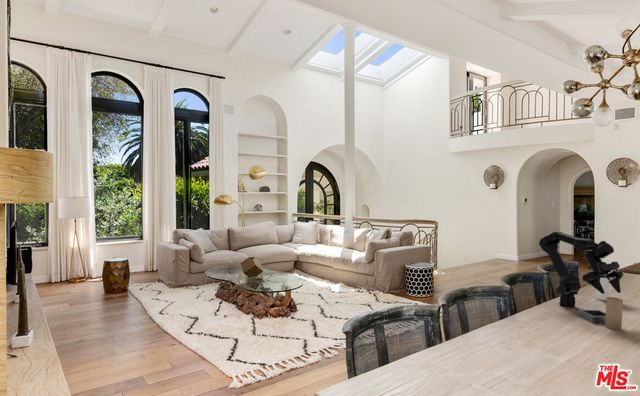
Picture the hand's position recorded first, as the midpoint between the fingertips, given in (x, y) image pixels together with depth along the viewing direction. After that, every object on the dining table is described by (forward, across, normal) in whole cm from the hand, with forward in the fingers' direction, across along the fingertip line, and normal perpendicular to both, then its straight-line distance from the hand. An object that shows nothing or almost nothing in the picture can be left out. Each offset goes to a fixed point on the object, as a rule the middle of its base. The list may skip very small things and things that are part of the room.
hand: (611, 293), depth 191 cm
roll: (+15, -7, +2) cm, 17 cm away
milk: (-8, +31, +34) cm, 47 cm away
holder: (+9, -4, +11) cm, 15 cm away
